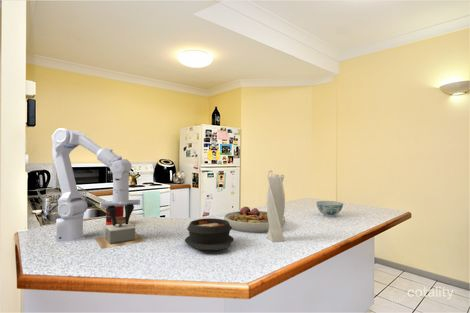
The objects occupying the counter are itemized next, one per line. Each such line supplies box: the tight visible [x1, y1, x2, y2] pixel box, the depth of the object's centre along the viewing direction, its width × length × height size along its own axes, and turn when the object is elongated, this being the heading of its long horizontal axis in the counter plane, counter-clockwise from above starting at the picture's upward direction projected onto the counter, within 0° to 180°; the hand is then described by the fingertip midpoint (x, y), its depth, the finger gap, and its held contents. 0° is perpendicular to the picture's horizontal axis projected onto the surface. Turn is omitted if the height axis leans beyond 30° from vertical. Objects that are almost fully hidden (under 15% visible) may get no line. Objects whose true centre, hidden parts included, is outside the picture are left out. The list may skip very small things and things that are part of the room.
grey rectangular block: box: [104, 222, 136, 244], centre depth 106 cm, size 10×9×5 cm
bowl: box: [223, 206, 286, 234], centre depth 132 cm, size 30×30×8 cm
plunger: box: [116, 216, 126, 227], centre depth 105 cm, size 7×7×8 cm
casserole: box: [184, 217, 234, 251], centre depth 102 cm, size 25×19×8 cm
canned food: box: [105, 204, 125, 226], centre depth 131 cm, size 8×8×11 cm
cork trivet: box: [94, 231, 147, 250], centre depth 105 cm, size 16×16×1 cm
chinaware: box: [315, 200, 344, 218], centre depth 158 cm, size 15×15×8 cm
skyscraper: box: [266, 170, 286, 243], centre depth 109 cm, size 8×8×28 cm
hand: (120, 224), depth 105 cm, fingers closed on plunger, 4 cm apart
